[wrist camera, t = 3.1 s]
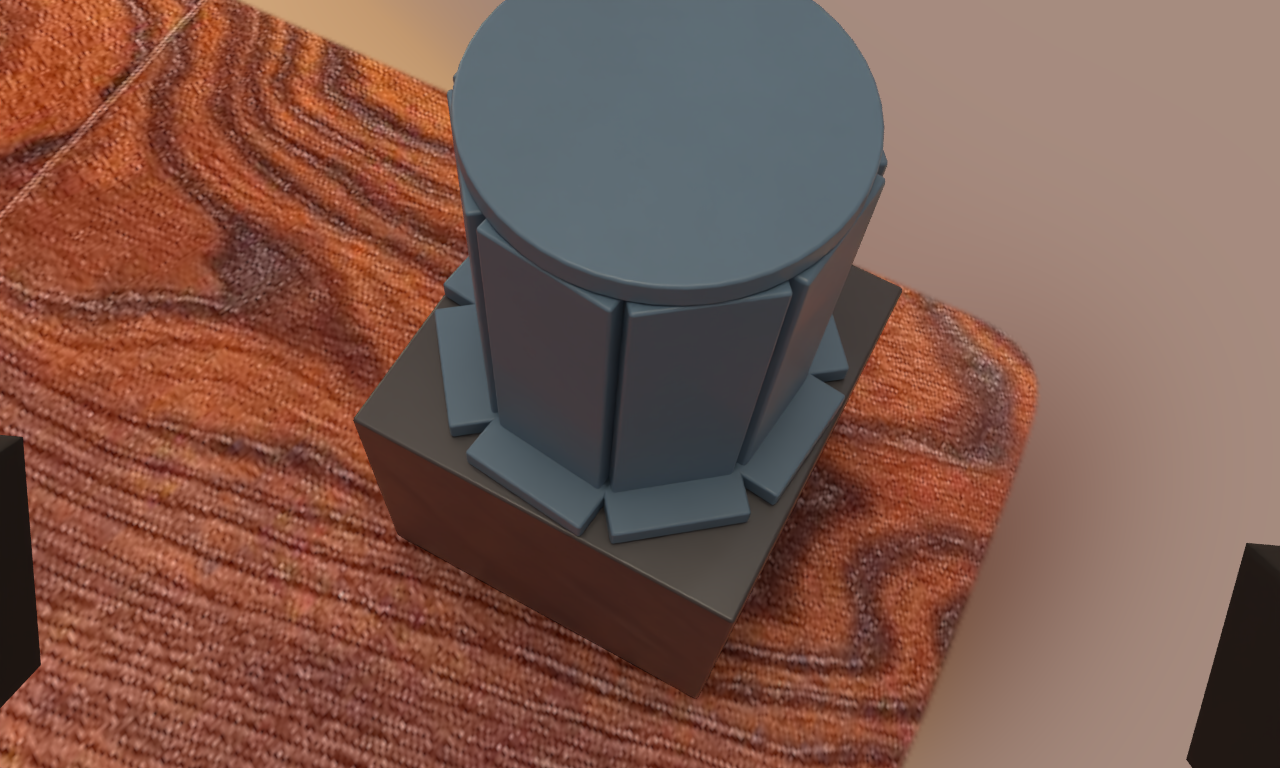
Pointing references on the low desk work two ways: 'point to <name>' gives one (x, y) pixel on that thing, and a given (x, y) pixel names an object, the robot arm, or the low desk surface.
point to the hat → (654, 251)
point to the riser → (590, 564)
